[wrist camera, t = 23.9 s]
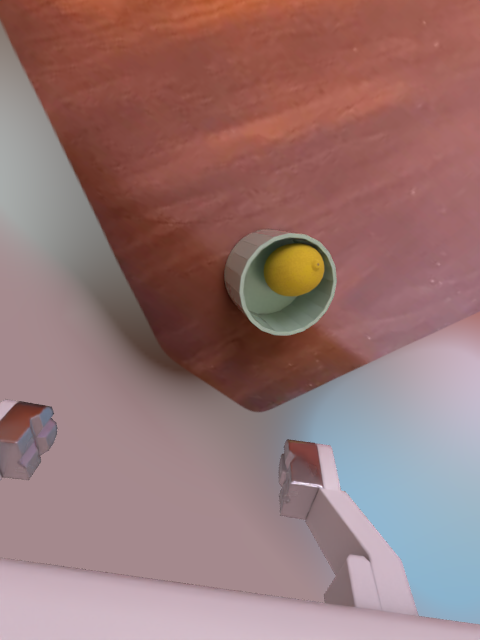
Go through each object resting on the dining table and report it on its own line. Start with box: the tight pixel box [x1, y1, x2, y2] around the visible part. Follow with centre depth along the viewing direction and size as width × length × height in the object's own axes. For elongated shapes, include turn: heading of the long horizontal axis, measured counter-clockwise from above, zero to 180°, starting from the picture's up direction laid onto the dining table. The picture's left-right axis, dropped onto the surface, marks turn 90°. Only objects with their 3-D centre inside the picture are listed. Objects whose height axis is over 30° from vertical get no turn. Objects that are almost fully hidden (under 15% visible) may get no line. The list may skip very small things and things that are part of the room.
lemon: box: [264, 243, 324, 296], centre depth 34 cm, size 6×6×8 cm
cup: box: [224, 229, 337, 335], centre depth 36 cm, size 10×10×7 cm
